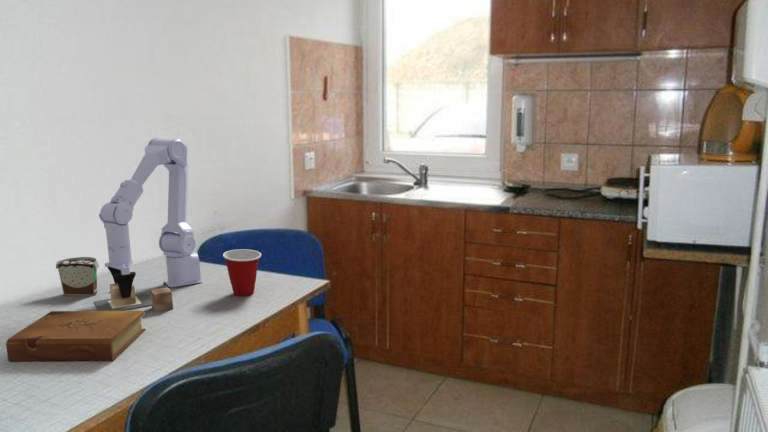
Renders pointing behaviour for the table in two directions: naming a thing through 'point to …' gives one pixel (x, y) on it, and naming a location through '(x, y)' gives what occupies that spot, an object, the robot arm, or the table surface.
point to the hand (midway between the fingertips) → (123, 293)
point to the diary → (76, 336)
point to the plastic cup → (242, 270)
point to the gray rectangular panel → (107, 305)
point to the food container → (78, 275)
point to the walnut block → (162, 299)
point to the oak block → (117, 297)
